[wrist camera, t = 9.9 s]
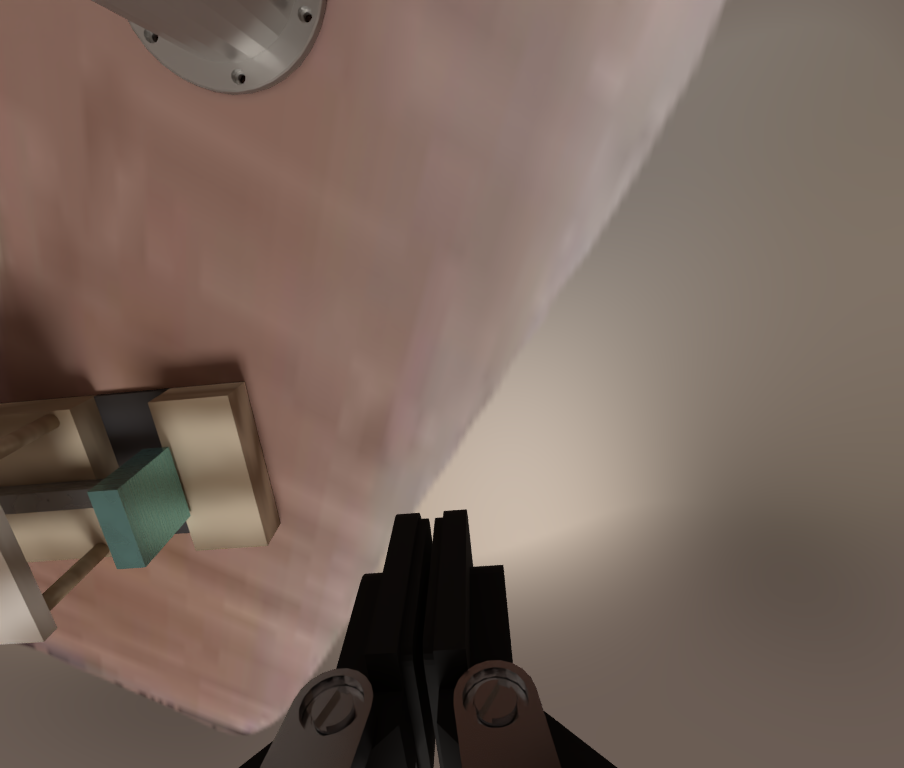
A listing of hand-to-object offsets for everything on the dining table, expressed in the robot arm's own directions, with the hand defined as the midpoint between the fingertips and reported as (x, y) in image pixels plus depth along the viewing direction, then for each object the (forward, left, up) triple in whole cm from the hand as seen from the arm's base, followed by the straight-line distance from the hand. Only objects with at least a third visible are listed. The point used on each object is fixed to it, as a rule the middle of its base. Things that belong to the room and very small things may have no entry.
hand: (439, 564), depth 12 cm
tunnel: (+10, -36, -27) cm, 46 cm away
